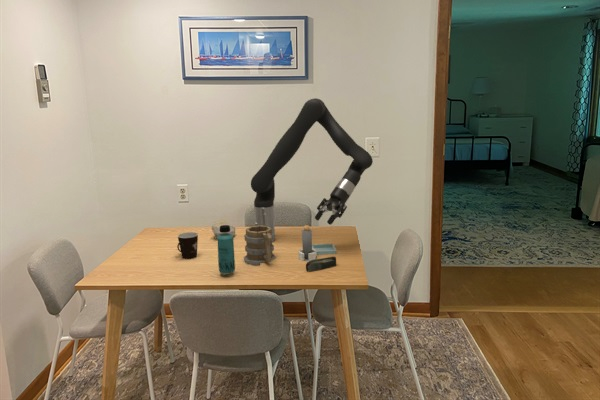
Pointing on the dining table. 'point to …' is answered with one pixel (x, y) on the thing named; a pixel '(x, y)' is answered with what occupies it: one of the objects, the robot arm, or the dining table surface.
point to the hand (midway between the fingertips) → (322, 221)
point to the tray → (324, 249)
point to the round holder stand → (310, 256)
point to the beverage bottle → (226, 251)
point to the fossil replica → (217, 228)
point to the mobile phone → (320, 264)
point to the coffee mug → (188, 245)
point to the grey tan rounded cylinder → (306, 241)
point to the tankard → (259, 245)
